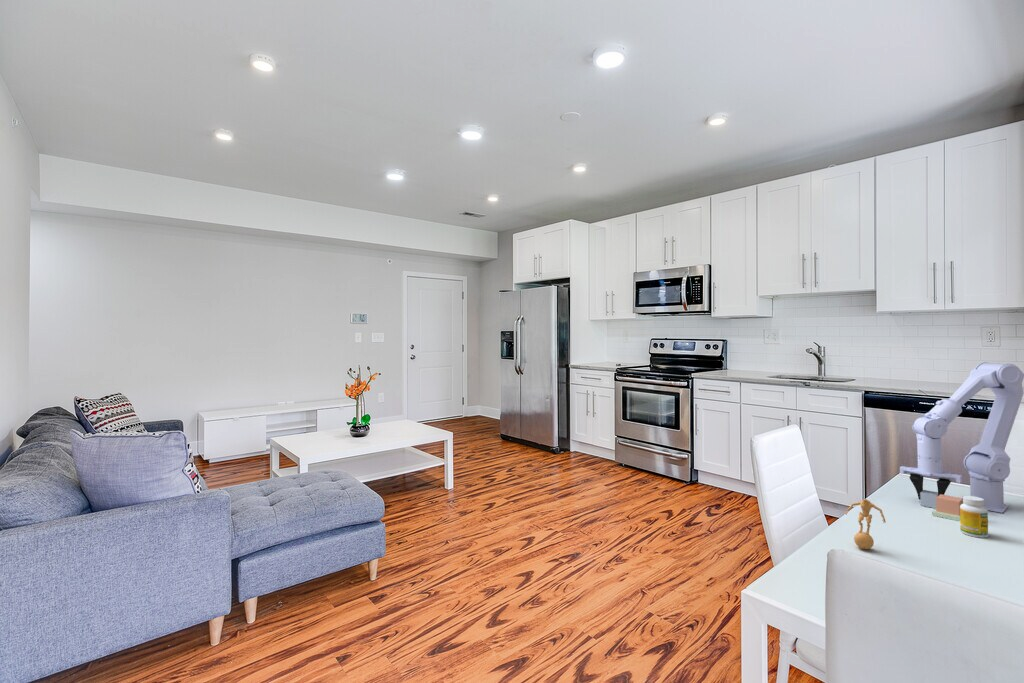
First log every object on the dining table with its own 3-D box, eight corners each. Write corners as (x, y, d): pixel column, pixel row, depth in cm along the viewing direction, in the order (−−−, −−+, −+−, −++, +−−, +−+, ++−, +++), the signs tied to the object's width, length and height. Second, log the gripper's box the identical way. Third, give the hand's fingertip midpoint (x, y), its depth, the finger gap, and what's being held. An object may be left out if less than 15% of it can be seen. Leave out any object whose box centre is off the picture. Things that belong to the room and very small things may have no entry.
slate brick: (924, 502, 153) (923, 489, 153) (940, 505, 150) (940, 492, 150) (920, 505, 151) (920, 492, 151) (937, 508, 148) (937, 495, 148)
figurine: (841, 545, 123) (841, 498, 123) (849, 539, 127) (848, 493, 127) (882, 556, 117) (881, 506, 117) (888, 549, 121) (887, 500, 121)
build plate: (938, 510, 147) (938, 506, 147) (969, 516, 141) (969, 512, 141) (932, 515, 142) (931, 511, 142) (964, 522, 137) (964, 518, 137)
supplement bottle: (964, 528, 132) (963, 493, 132) (991, 535, 128) (990, 498, 128) (957, 533, 129) (956, 497, 129) (984, 540, 125) (984, 502, 125)
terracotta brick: (940, 507, 146) (940, 494, 146) (963, 512, 142) (963, 498, 142) (936, 511, 142) (936, 497, 142) (959, 516, 139) (959, 501, 139)
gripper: (896, 454, 154) (897, 497, 154) (957, 463, 142) (958, 509, 142) (903, 451, 158) (904, 493, 158) (963, 459, 147) (964, 504, 147)
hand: (930, 500), depth 151 cm, fingers closed on slate brick, 4 cm apart
